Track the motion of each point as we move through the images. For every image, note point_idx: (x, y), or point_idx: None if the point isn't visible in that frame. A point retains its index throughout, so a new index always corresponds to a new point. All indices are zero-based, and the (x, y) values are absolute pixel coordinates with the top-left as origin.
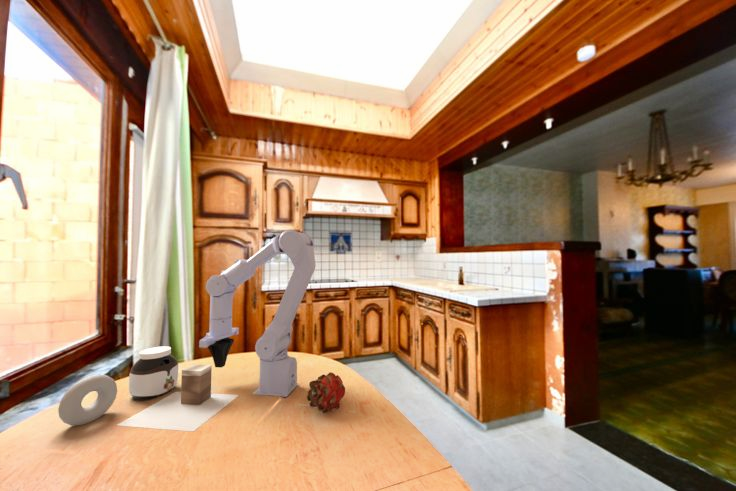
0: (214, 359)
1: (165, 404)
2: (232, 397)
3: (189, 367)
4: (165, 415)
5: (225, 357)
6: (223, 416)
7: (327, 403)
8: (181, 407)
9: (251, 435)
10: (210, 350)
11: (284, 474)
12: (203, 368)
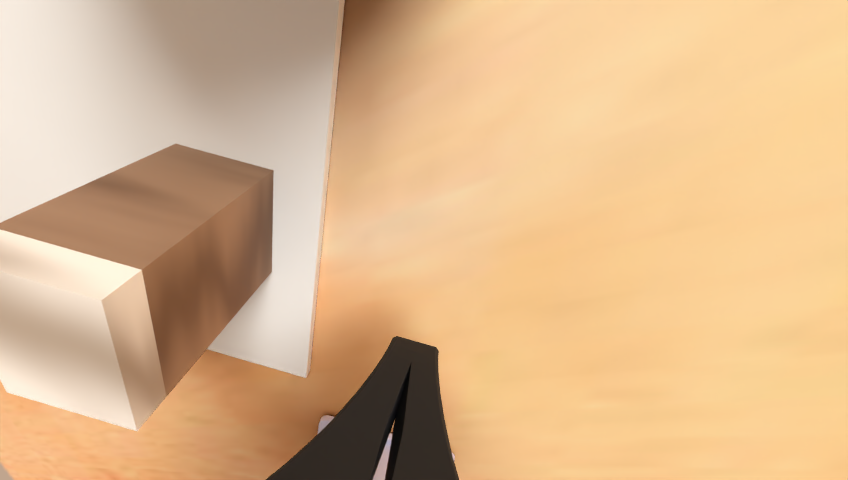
0: (363, 392)
1: (146, 41)
2: (282, 358)
3: (19, 291)
4: (56, 125)
5: (387, 470)
6: None
7: None
8: None
9: (97, 423)
10: (275, 478)
11: (23, 469)
12: (57, 397)
